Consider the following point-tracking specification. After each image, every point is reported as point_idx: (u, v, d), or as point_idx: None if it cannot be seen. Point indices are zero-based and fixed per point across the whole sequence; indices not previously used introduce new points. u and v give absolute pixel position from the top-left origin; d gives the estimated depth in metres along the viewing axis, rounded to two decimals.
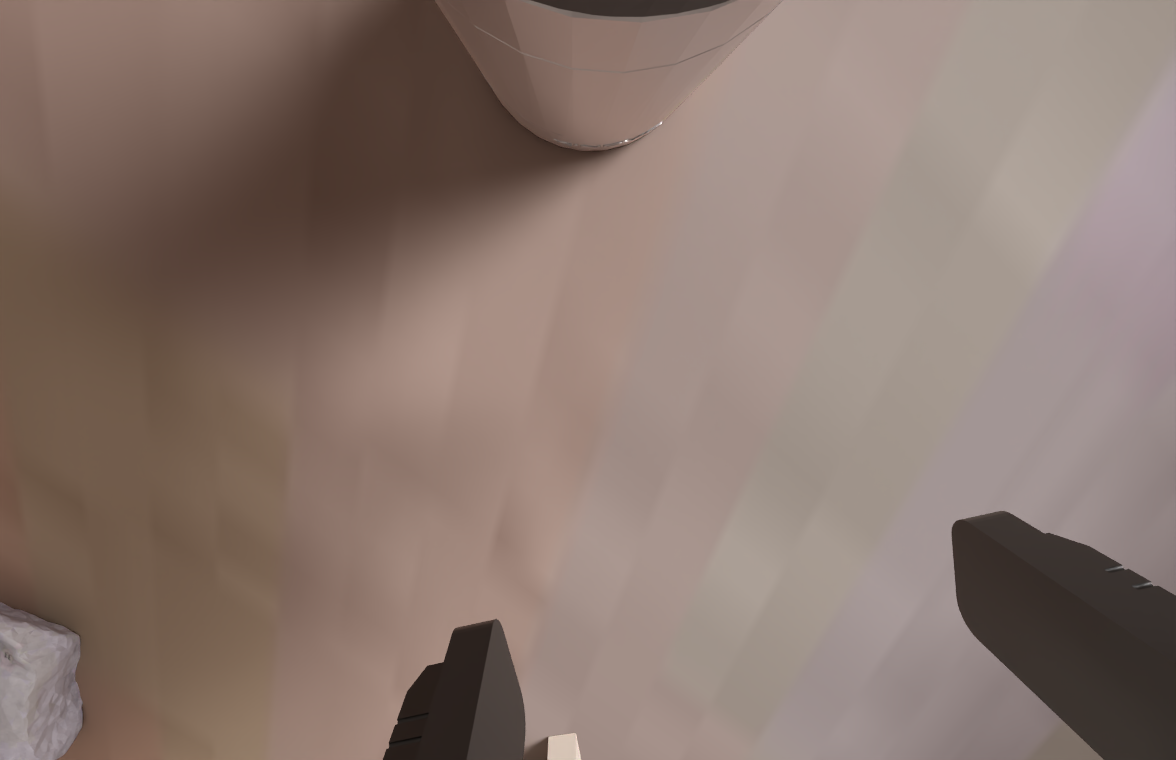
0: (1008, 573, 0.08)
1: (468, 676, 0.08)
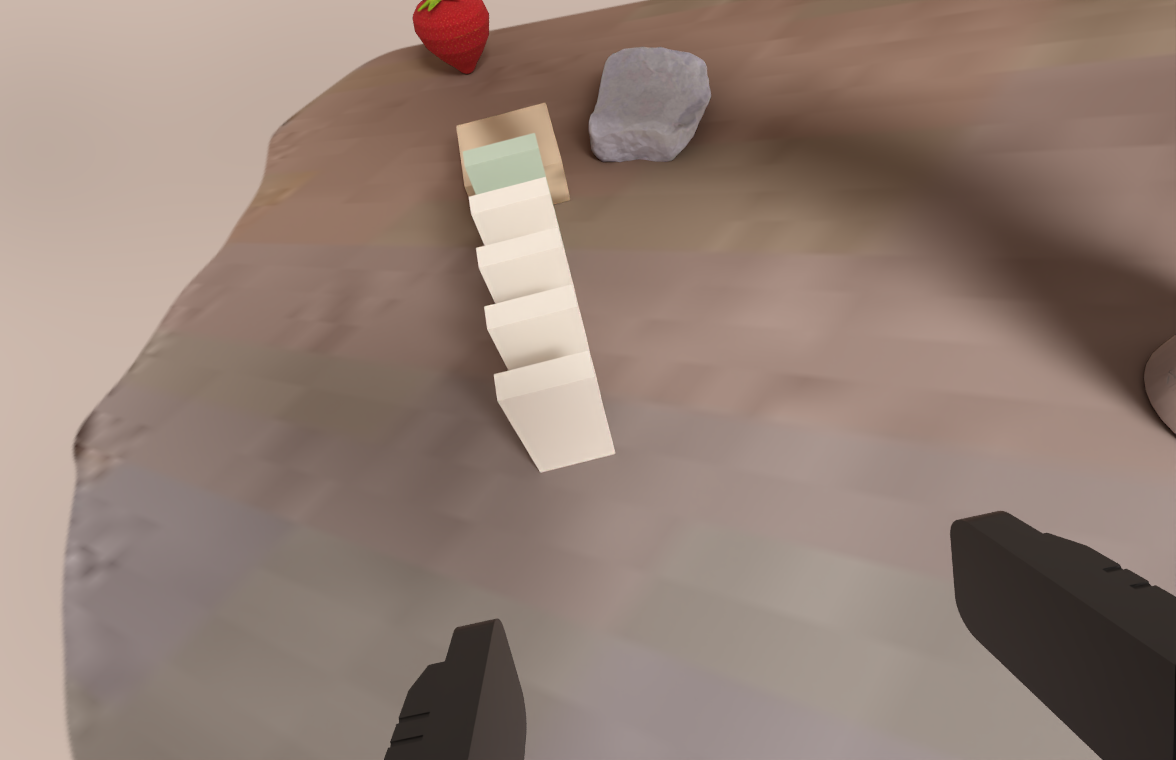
0: (1006, 573, 0.09)
1: (469, 675, 0.08)
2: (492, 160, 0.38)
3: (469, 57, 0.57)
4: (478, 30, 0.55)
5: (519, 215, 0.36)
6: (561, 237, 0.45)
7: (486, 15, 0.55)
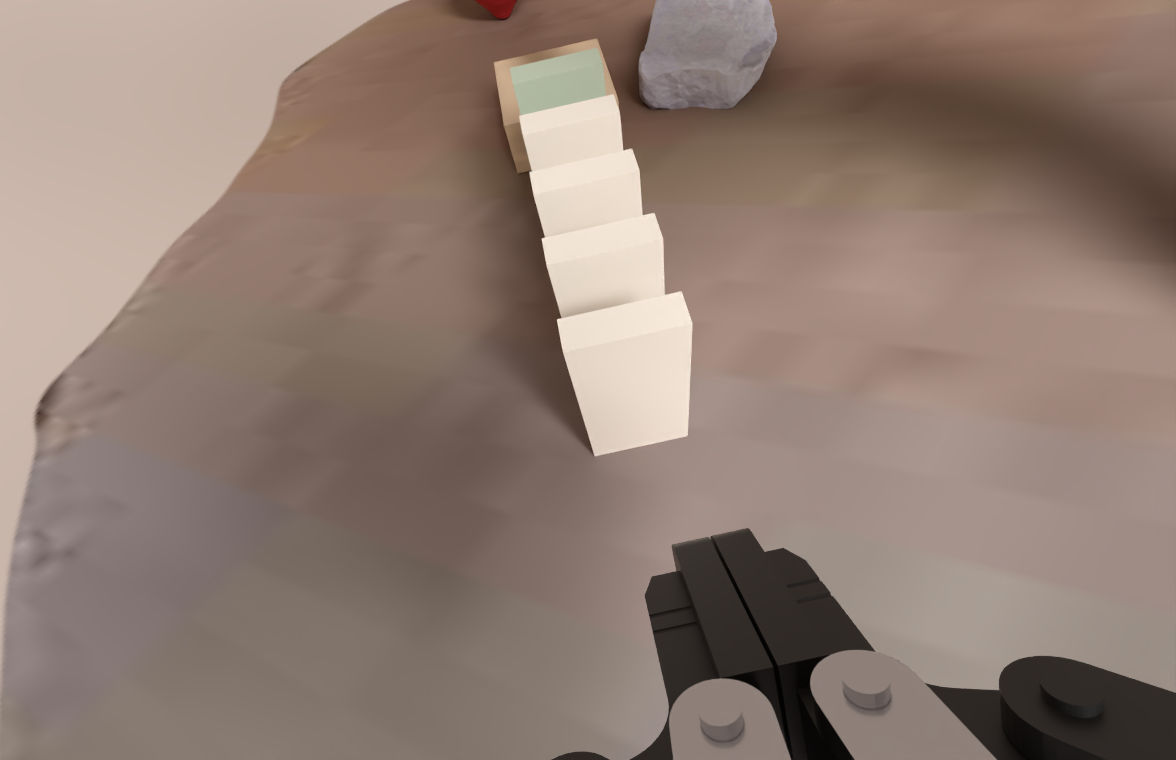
0: None
1: (713, 576, 0.09)
2: (546, 77, 0.31)
3: None
4: None
5: (580, 140, 0.30)
6: None
7: None
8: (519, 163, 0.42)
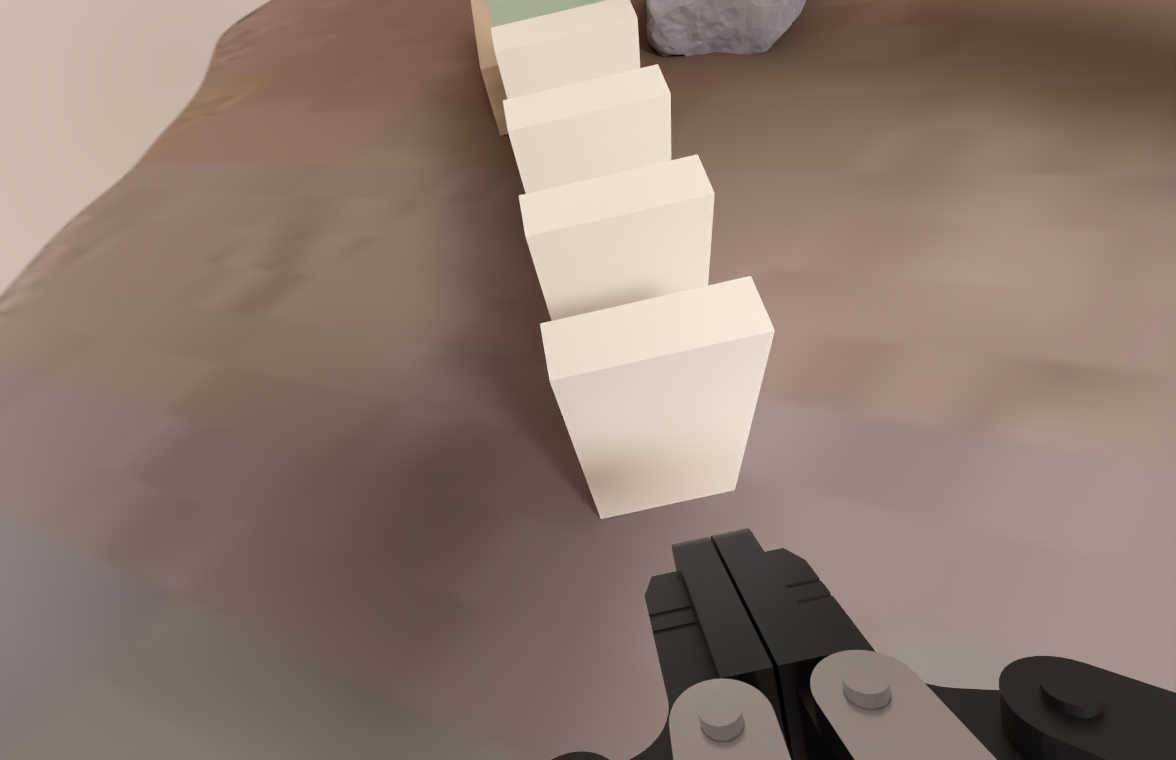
0: None
1: (713, 576, 0.09)
2: None
3: None
4: None
5: (579, 63, 0.20)
6: None
7: None
8: (502, 121, 0.33)
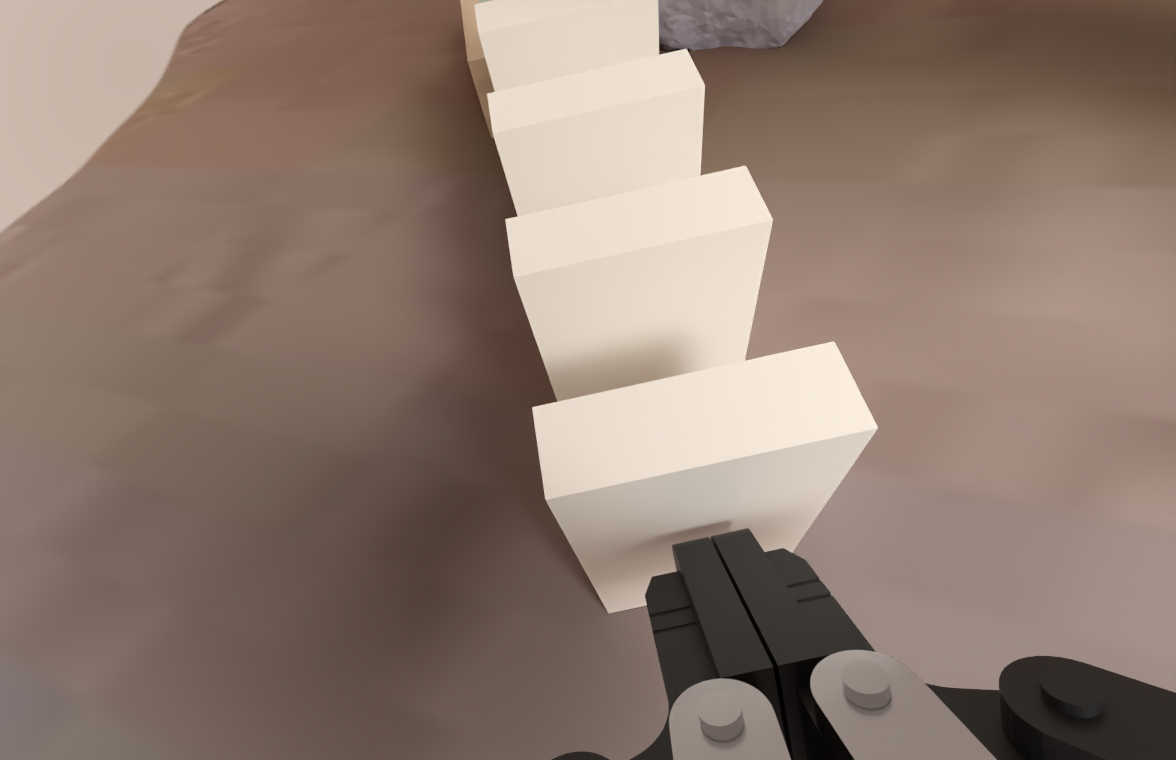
0: None
1: (713, 576, 0.09)
2: None
3: None
4: None
5: (584, 49, 0.16)
6: None
7: None
8: None
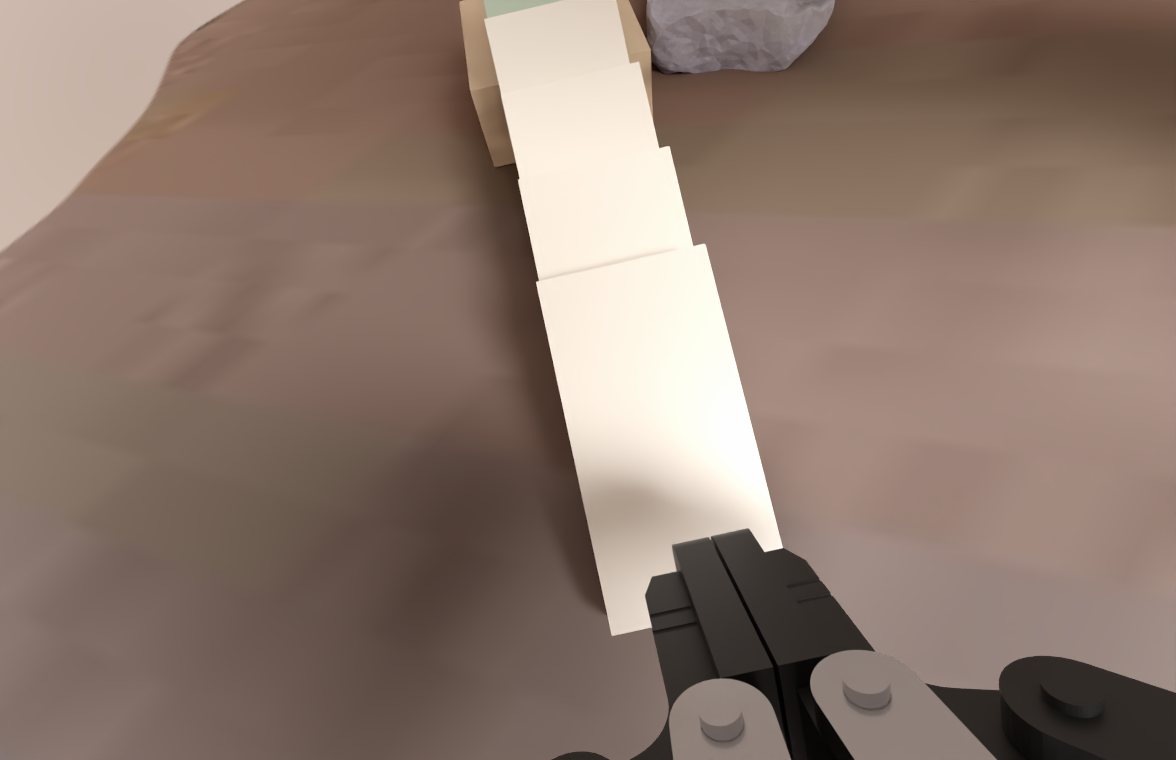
0: None
1: (713, 576, 0.09)
2: None
3: None
4: None
5: (563, 30, 0.22)
6: None
7: None
8: (496, 151, 0.28)
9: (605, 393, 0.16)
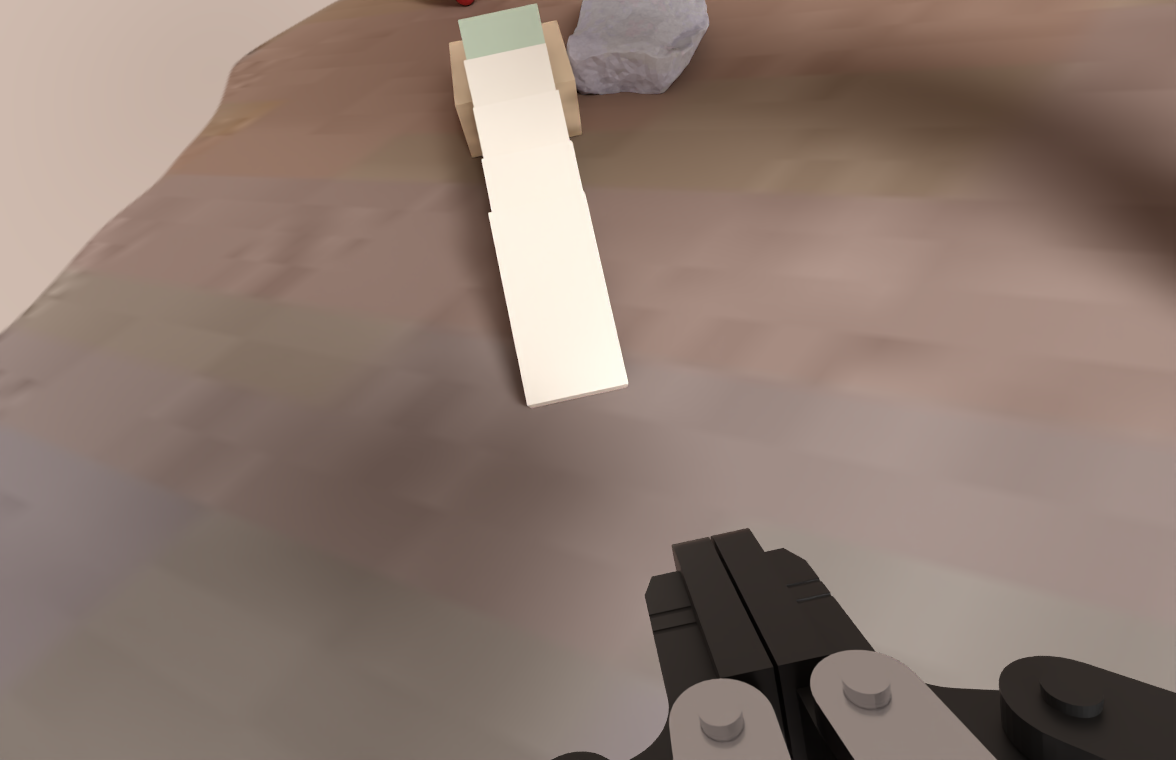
0: None
1: (713, 576, 0.09)
2: (487, 16, 0.35)
3: None
4: None
5: (513, 68, 0.34)
6: None
7: None
8: (473, 146, 0.40)
9: (526, 275, 0.28)
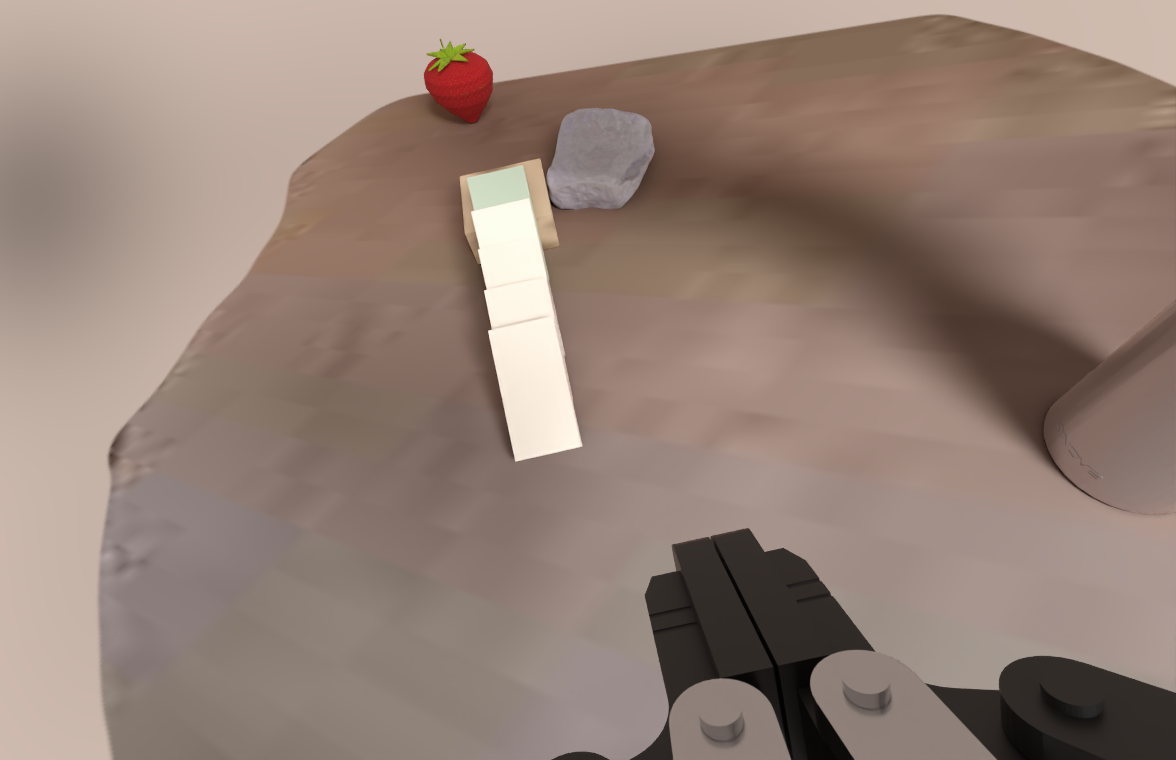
0: None
1: (713, 576, 0.09)
2: (487, 174, 0.49)
3: (474, 110, 0.63)
4: (482, 88, 0.61)
5: (506, 216, 0.48)
6: (544, 260, 0.50)
7: (490, 74, 0.61)
8: (478, 257, 0.54)
9: (514, 373, 0.43)
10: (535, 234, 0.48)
